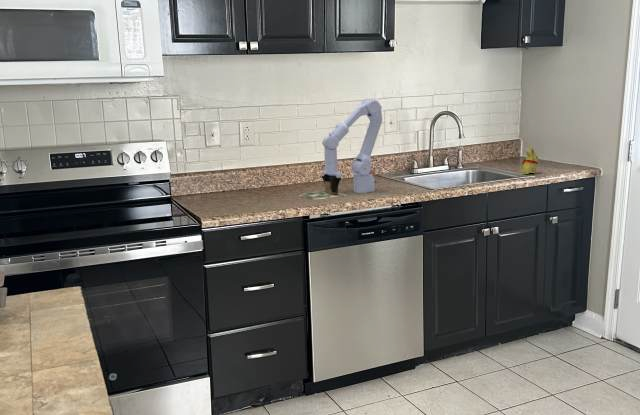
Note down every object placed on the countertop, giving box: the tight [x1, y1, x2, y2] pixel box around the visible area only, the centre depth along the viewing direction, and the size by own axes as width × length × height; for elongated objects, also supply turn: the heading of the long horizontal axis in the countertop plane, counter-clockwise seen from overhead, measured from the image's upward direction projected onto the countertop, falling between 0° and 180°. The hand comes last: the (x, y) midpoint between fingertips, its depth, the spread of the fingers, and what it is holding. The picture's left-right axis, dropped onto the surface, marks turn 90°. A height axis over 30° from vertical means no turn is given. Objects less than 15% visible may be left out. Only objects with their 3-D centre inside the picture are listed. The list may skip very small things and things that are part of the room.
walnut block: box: [324, 181, 339, 195], centre depth 295 cm, size 4×4×6 cm
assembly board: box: [298, 190, 348, 201], centre depth 293 cm, size 18×14×2 cm
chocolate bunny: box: [521, 145, 539, 174], centre depth 340 cm, size 7×11×15 cm, turn 123°
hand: (331, 191), depth 295 cm, fingers open, 5 cm apart
